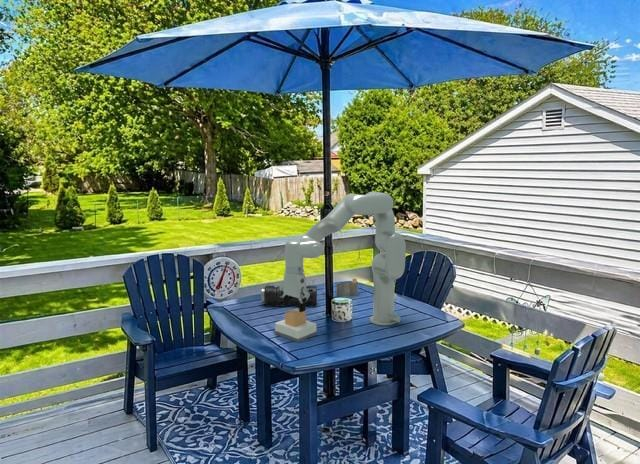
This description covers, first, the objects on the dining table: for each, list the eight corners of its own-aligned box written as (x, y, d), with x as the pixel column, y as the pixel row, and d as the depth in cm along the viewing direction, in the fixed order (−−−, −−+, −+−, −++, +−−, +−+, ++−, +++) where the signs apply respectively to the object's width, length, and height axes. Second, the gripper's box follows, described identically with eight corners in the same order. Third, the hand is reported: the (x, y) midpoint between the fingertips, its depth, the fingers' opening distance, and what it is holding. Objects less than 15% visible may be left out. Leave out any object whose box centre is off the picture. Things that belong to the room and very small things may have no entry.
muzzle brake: (316, 308, 234) (316, 288, 232) (261, 308, 234) (260, 288, 232) (316, 302, 243) (316, 283, 241) (263, 302, 244) (263, 283, 242)
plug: (306, 329, 199) (305, 311, 198) (294, 334, 194) (294, 315, 193) (297, 326, 203) (296, 308, 202) (285, 331, 198) (284, 312, 197)
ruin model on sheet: (356, 294, 256) (356, 277, 255) (357, 296, 253) (357, 279, 252) (336, 295, 255) (336, 278, 253) (337, 297, 252) (337, 280, 250)
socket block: (316, 334, 198) (316, 323, 197) (298, 342, 190) (298, 330, 189) (293, 326, 208) (293, 316, 207) (275, 333, 200) (275, 322, 199)
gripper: (315, 271, 191) (315, 311, 194) (286, 265, 203) (286, 302, 205) (302, 274, 186) (302, 315, 188) (273, 267, 197) (273, 306, 200)
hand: (294, 308), depth 197 cm, fingers open, 9 cm apart
